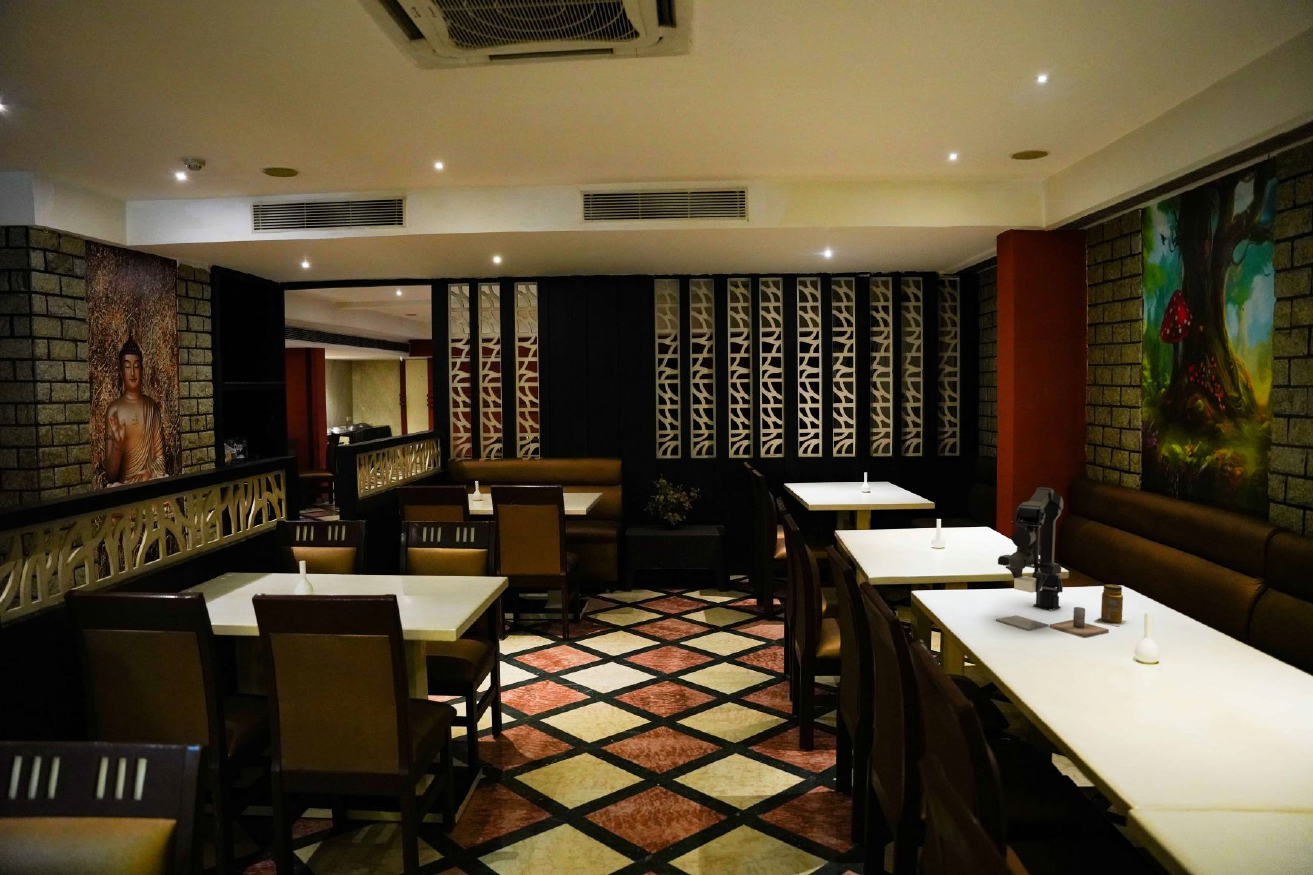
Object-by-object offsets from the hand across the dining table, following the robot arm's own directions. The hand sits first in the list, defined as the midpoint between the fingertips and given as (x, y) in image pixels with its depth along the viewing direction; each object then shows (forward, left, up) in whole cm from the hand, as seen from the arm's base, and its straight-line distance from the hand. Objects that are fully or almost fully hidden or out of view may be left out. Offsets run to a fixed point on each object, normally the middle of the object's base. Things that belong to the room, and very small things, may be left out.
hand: (1027, 590), depth 256 cm
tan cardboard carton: (0, 0, 0) cm, 0 cm away
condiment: (+11, +27, -12) cm, 31 cm away
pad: (-1, -1, -11) cm, 11 cm away
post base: (+12, +9, -11) cm, 19 cm away
